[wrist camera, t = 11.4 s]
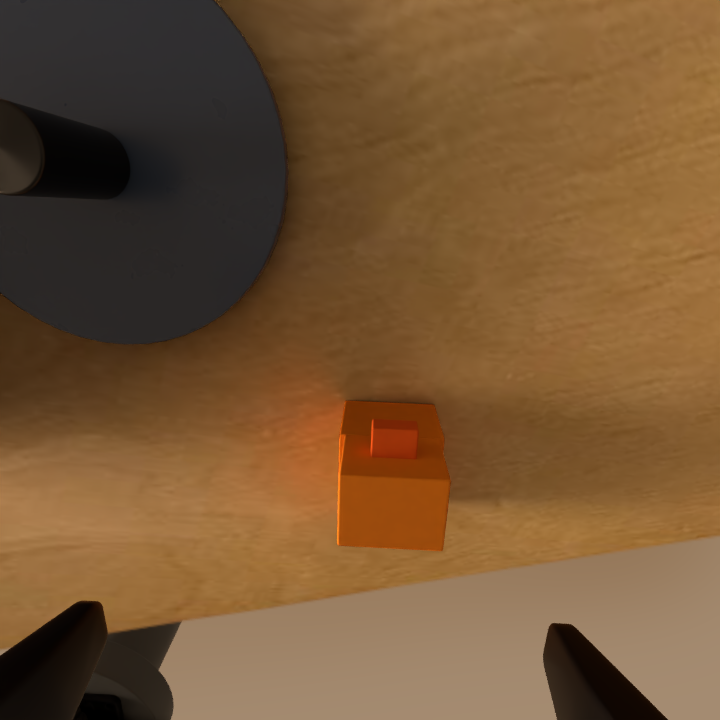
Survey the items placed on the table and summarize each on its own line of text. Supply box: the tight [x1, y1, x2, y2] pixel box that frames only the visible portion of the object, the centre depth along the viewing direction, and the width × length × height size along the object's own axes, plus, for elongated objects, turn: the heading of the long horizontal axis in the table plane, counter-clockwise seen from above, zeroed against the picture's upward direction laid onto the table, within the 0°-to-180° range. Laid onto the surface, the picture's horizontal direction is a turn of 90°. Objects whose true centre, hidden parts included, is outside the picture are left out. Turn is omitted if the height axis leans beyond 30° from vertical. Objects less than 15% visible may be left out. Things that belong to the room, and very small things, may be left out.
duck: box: [337, 401, 451, 551], centre depth 18 cm, size 6×4×6 cm, turn 178°
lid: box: [0, 0, 289, 344], centre depth 15 cm, size 14×14×6 cm
